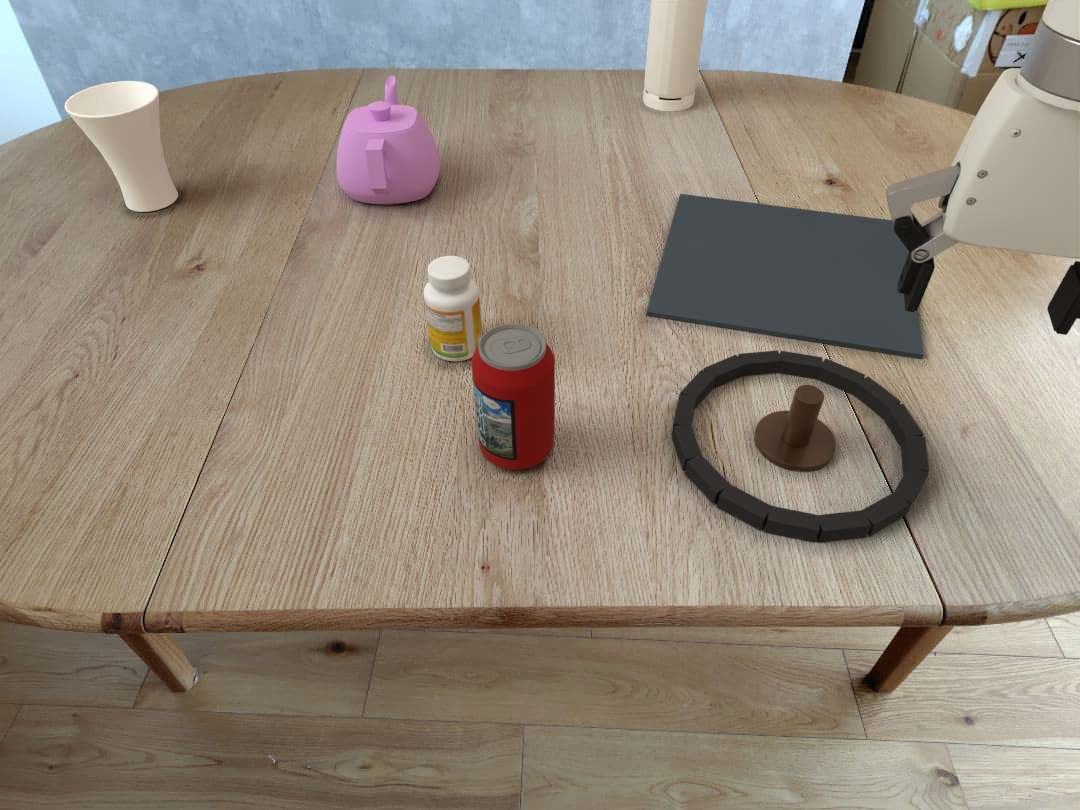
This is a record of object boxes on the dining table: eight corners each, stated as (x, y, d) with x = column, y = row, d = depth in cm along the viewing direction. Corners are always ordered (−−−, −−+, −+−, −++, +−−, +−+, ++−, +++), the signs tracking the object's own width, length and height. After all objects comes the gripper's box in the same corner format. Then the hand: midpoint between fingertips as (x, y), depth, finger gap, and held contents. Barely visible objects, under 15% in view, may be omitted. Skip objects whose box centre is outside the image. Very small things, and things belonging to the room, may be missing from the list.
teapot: (447, 148, 111) (439, 70, 103) (436, 221, 97) (426, 137, 89) (354, 150, 111) (340, 72, 103) (329, 223, 97) (310, 138, 89)
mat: (905, 226, 95) (906, 221, 95) (922, 359, 77) (924, 354, 77) (679, 197, 100) (680, 193, 100) (646, 315, 83) (646, 311, 82)
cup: (146, 175, 106) (107, 76, 96) (210, 187, 103) (176, 86, 94) (91, 212, 99) (43, 109, 89) (158, 226, 96) (116, 122, 87)
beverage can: (469, 431, 70) (459, 329, 62) (538, 412, 72) (537, 310, 64) (492, 484, 66) (484, 381, 57) (565, 463, 68) (568, 360, 59)
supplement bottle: (463, 323, 82) (455, 244, 75) (493, 347, 79) (488, 268, 72) (420, 343, 79) (408, 264, 73) (450, 370, 76) (440, 290, 70)
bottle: (669, 116, 118) (694, -97, 99) (631, 100, 123) (647, -107, 103) (704, 101, 122) (734, -107, 102) (666, 86, 126) (687, -116, 107)
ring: (912, 384, 74) (917, 372, 73) (931, 567, 60) (939, 555, 58) (689, 347, 79) (691, 335, 78) (655, 509, 64) (657, 497, 63)
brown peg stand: (834, 422, 71) (852, 374, 67) (834, 478, 66) (853, 430, 62) (757, 409, 72) (770, 360, 68) (751, 463, 67) (765, 414, 63)
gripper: (1256, 53, 43) (1104, 299, 55) (929, 28, 47) (853, 265, 59) (1311, 107, 38) (1131, 366, 50) (940, 74, 42) (854, 323, 54)
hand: (981, 311), depth 54 cm, fingers open, 9 cm apart
